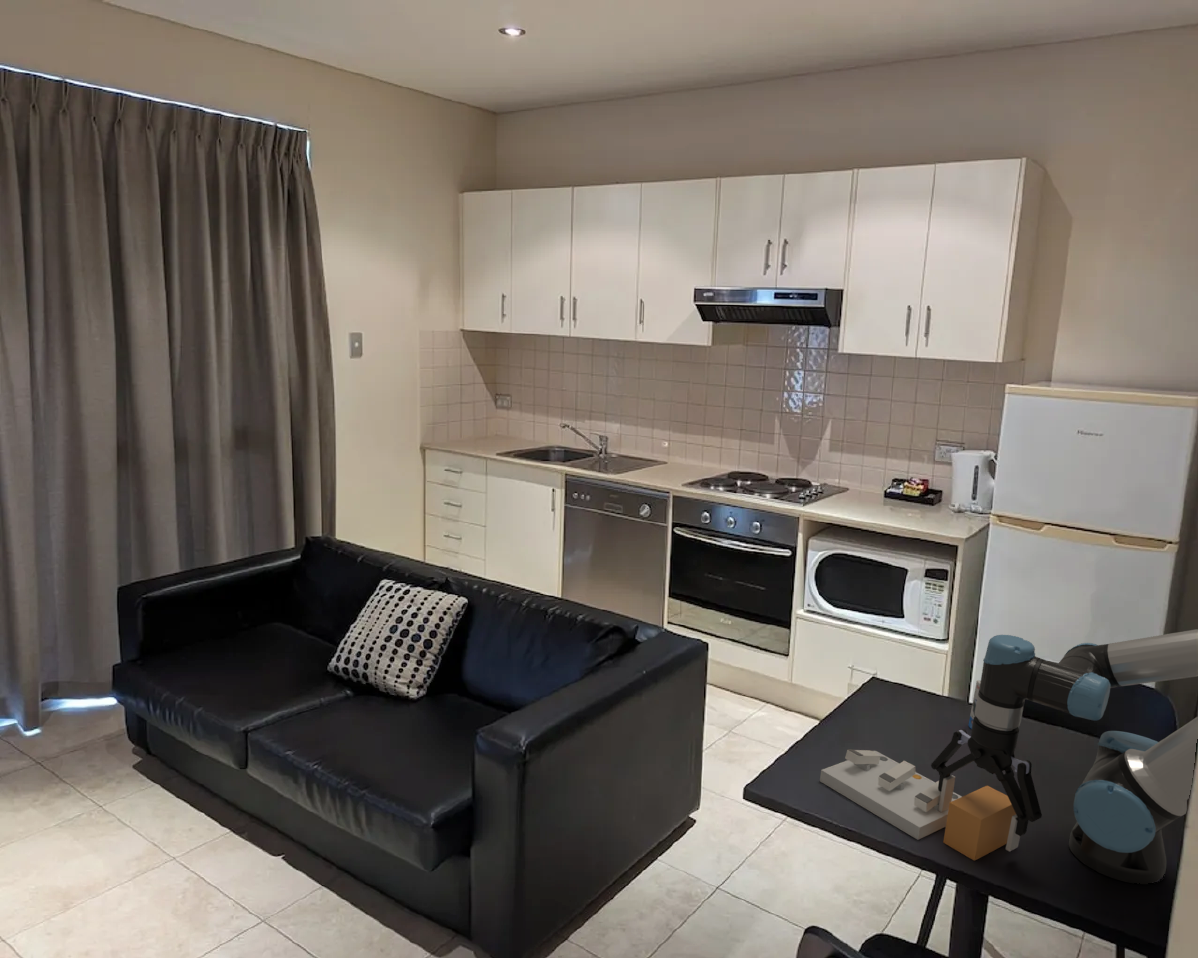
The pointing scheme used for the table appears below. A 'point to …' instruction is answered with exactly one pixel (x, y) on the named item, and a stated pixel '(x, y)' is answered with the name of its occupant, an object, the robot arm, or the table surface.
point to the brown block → (979, 822)
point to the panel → (886, 795)
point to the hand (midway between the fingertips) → (976, 828)
